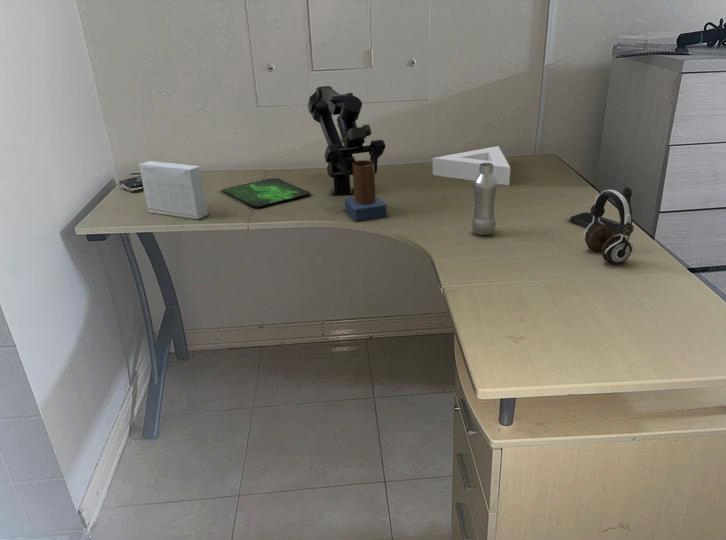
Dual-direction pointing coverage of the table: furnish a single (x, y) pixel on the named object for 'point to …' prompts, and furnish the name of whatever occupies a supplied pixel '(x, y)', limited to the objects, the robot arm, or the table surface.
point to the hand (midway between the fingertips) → (362, 174)
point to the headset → (602, 235)
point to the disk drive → (133, 183)
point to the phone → (587, 219)
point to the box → (365, 209)
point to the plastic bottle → (484, 200)
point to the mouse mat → (265, 192)
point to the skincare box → (174, 189)
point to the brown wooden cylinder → (364, 182)
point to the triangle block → (473, 165)
